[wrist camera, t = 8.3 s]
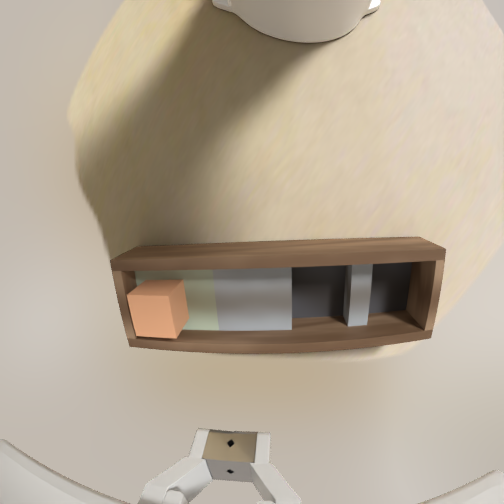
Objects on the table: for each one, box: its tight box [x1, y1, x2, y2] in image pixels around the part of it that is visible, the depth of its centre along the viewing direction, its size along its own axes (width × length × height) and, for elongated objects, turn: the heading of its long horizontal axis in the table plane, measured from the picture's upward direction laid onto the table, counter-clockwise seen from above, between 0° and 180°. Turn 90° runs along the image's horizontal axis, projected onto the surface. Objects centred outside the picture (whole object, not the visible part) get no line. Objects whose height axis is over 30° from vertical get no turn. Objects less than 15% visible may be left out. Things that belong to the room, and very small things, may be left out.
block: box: [127, 279, 189, 339], centre depth 24 cm, size 4×4×4 cm
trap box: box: [110, 237, 446, 354], centre depth 26 cm, size 9×30×6 cm, turn 93°
